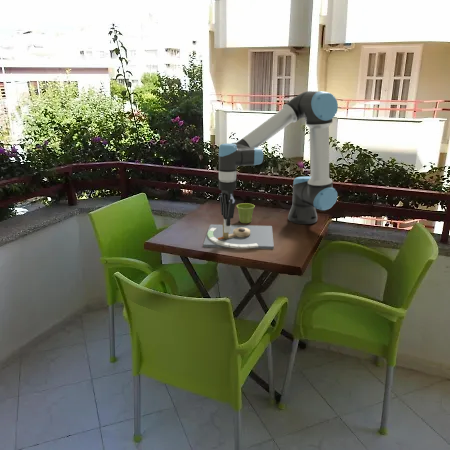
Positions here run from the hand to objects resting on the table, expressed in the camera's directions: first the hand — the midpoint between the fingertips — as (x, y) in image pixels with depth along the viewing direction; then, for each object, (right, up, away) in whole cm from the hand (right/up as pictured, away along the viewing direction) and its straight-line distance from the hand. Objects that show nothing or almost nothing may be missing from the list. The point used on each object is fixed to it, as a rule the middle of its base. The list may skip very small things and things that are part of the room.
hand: (227, 232), depth 174 cm
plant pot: (+10, +5, +29) cm, 31 cm away
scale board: (+6, -3, +7) cm, 9 cm away
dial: (+3, -2, +5) cm, 7 cm away
